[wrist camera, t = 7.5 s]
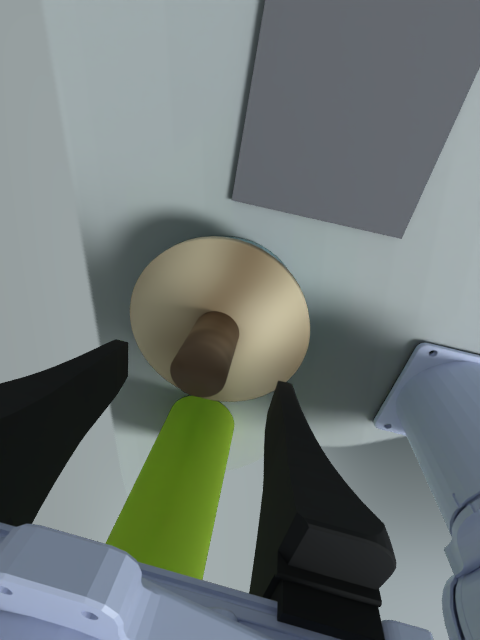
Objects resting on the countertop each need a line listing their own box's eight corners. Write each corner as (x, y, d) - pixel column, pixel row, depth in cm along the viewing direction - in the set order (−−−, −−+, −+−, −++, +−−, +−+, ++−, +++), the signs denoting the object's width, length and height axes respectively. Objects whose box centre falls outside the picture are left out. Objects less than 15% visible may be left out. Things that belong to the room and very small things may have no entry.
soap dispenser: (207, 458, 28) (76, 925, 11) (157, 412, 27) (-99, 888, 9) (254, 436, 26) (187, 983, 9) (204, 384, 24) (-16, 950, 7)
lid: (337, 264, 15) (357, 302, 11) (279, 410, 20) (277, 475, 16) (141, 214, 15) (83, 231, 11) (132, 370, 20) (91, 423, 16)
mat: (505, 1, 12) (511, -4, 12) (399, 237, 17) (401, 238, 17) (274, -44, 13) (273, -50, 12) (232, 199, 17) (231, 200, 17)
